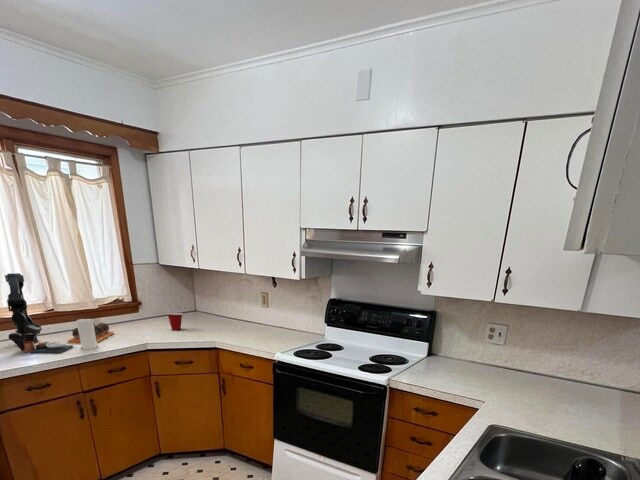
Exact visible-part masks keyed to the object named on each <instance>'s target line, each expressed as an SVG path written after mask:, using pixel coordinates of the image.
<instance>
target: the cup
mask: <svg viewBox="0 0 640 480" xmlns="http://www.w3.org/2000/svg"><path fill="white" fill-rule="evenodd" d="M93 324H94V320H93V319H92V318H80V319H79V318H78V319H77V320H76V326H77V328H78V331H79V336H80V341H81V343H80V347H81V349H82V350H92V349H93V350H94V349H97V348H98V343H97V341H96V336H95V330H94V325H95V324H94V325H93Z"/></svg>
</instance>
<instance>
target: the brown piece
mask: <svg viewBox="0 0 640 480" xmlns="http://www.w3.org/2000/svg"><path fill="white" fill-rule="evenodd" d="M93 325H94V330H95V336H96V341H97V344H98V343H100V342H102V341H103V340H105V339H106V338H107V339H108V338H109V337H110V336H113V335H114V334H115V333H114V331H111V330H110V326H109V325H108V324H107V323H106V322H99V323H98V324H95V323H93ZM71 334H72V335H71V336H72V338H69V339H68V340H67V343H68V344H81V341H80V336H79V331H78V327H75V328H74V329H73V330H72V332H71Z"/></svg>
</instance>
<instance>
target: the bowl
mask: <svg viewBox="0 0 640 480" xmlns="http://www.w3.org/2000/svg"><path fill="white" fill-rule="evenodd" d="M23 344H24V351H22V350H21V349H20V352H22V353H31V352H30V351H31V350H34V349H36V346H35V343H34V342H33V341H23Z"/></svg>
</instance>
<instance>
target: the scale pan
mask: <svg viewBox="0 0 640 480" xmlns="http://www.w3.org/2000/svg"><path fill="white" fill-rule="evenodd" d="M43 343H44V344H46V347H61V346H65V345H66V342H60V341H59V342H50V341H49V342H48V341H44V342H43Z"/></svg>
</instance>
